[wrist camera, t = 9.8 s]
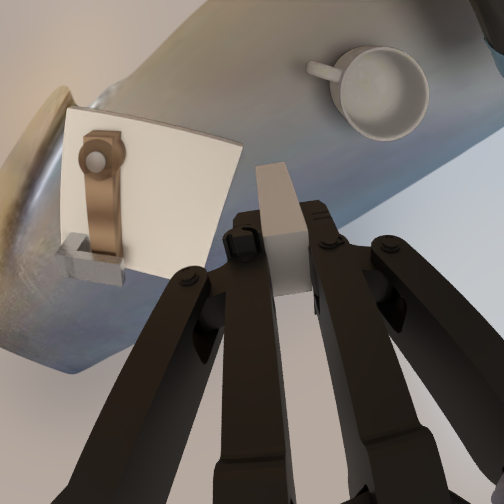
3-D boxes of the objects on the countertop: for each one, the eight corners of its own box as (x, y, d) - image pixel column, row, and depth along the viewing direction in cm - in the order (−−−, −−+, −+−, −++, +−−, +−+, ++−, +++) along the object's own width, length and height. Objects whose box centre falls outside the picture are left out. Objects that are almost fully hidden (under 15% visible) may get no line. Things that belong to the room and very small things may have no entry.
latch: (87, 129, 35) (74, 138, 31) (126, 131, 35) (116, 140, 32) (96, 259, 47) (88, 274, 43) (128, 264, 47) (121, 280, 44)
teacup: (412, 74, 33) (445, 83, 26) (376, 138, 38) (401, 159, 32) (322, 18, 29) (341, 11, 23) (284, 90, 35) (294, 99, 28)
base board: (72, 105, 34) (67, 107, 33) (243, 143, 39) (243, 147, 38) (65, 244, 47) (61, 249, 46) (199, 279, 52) (198, 286, 50)
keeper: (74, 226, 45) (54, 254, 39) (134, 234, 46) (120, 264, 40) (77, 247, 47) (59, 275, 41) (135, 255, 48) (122, 286, 42)
